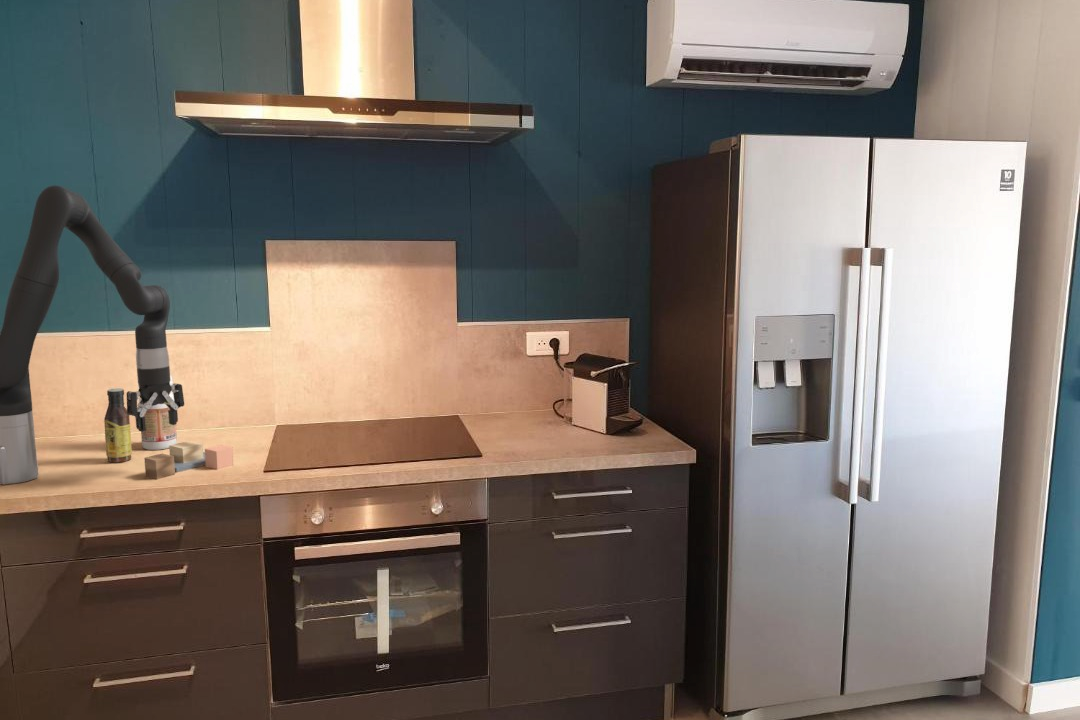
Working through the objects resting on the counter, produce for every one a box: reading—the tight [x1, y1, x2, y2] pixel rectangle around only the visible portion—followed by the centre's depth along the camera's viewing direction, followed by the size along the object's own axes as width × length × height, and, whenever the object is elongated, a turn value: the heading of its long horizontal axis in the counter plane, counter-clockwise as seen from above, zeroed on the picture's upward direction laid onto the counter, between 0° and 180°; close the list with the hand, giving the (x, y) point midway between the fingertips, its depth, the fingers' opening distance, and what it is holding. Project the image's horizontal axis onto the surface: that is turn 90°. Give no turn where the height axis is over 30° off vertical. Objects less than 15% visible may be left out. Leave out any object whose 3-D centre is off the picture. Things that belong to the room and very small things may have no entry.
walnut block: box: [143, 452, 176, 480], centre depth 214 cm, size 5×5×5 cm
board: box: [174, 451, 206, 473], centre depth 226 cm, size 14×12×1 cm
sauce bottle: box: [104, 387, 133, 464], centre depth 227 cm, size 7×6×20 cm
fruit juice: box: [137, 374, 178, 451], centre depth 241 cm, size 9×9×28 cm
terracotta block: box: [204, 444, 234, 471], centre depth 223 cm, size 5×5×5 cm
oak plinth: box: [168, 440, 204, 463], centre depth 226 cm, size 6×6×4 cm
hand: (157, 427), depth 213 cm, fingers open, 8 cm apart
